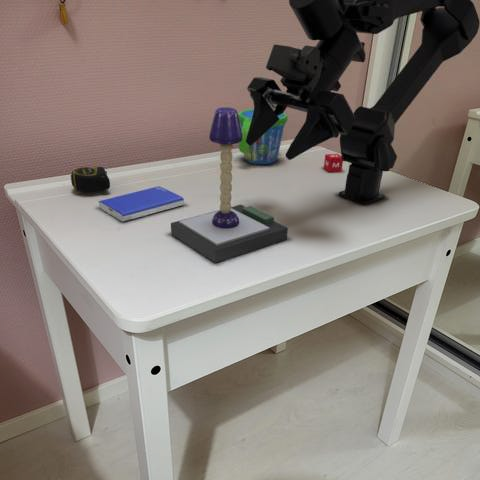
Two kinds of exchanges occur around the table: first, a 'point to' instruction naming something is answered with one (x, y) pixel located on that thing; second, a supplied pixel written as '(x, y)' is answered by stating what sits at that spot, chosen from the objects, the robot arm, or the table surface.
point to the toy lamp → (225, 161)
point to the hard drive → (141, 203)
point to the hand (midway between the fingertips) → (266, 150)
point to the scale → (229, 233)
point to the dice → (333, 163)
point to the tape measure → (90, 179)
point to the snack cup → (261, 140)
